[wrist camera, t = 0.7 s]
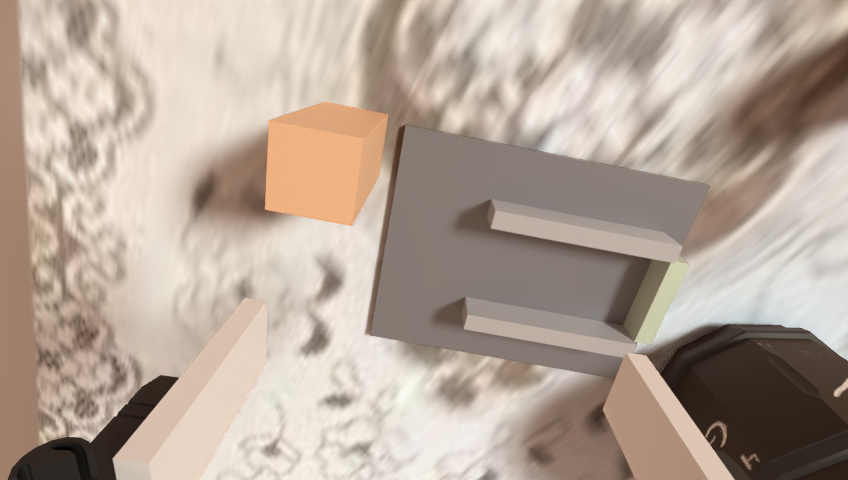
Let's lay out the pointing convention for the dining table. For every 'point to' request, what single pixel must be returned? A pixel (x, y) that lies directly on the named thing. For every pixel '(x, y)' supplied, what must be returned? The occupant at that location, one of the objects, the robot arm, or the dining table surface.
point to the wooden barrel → (767, 400)
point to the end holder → (529, 253)
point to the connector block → (324, 161)
